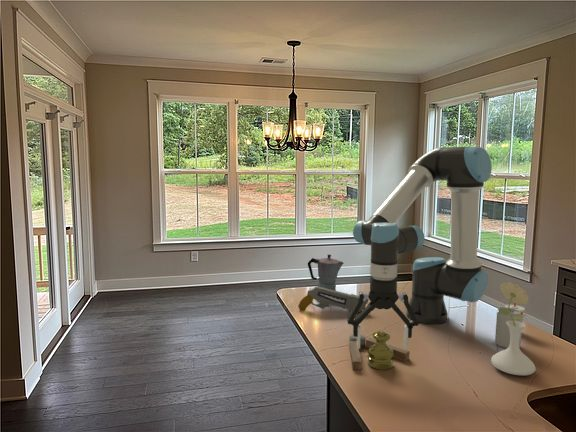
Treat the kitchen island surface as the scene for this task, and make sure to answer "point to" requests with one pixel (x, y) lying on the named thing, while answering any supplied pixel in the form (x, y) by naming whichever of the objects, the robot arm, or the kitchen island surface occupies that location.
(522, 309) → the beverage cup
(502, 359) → the flower in vase
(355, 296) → the gun
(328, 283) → the moka pot
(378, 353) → the yellow-green tapered rounded piece
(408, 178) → the robot arm
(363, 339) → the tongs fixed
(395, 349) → the long rectangular block
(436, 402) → the kitchen island surface
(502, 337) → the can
